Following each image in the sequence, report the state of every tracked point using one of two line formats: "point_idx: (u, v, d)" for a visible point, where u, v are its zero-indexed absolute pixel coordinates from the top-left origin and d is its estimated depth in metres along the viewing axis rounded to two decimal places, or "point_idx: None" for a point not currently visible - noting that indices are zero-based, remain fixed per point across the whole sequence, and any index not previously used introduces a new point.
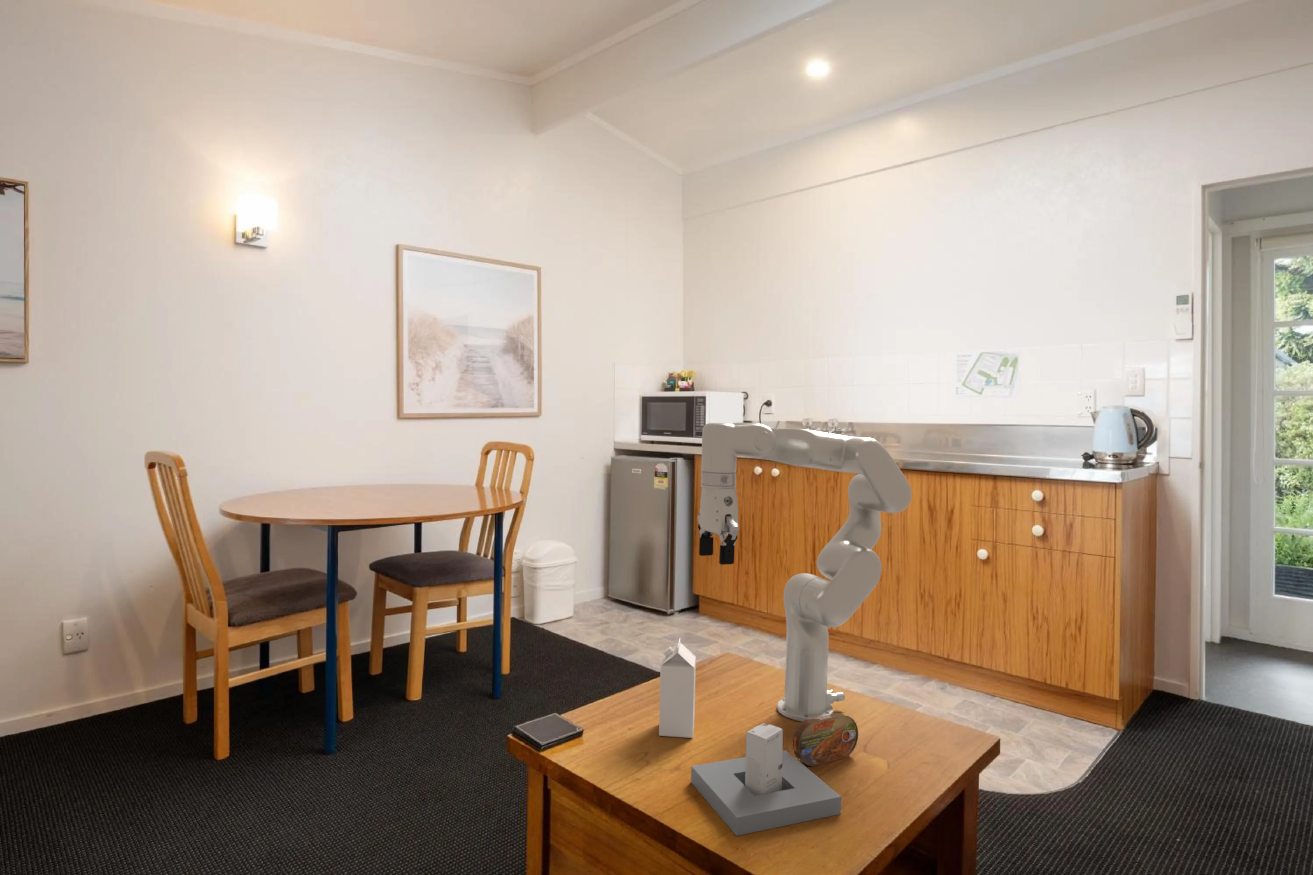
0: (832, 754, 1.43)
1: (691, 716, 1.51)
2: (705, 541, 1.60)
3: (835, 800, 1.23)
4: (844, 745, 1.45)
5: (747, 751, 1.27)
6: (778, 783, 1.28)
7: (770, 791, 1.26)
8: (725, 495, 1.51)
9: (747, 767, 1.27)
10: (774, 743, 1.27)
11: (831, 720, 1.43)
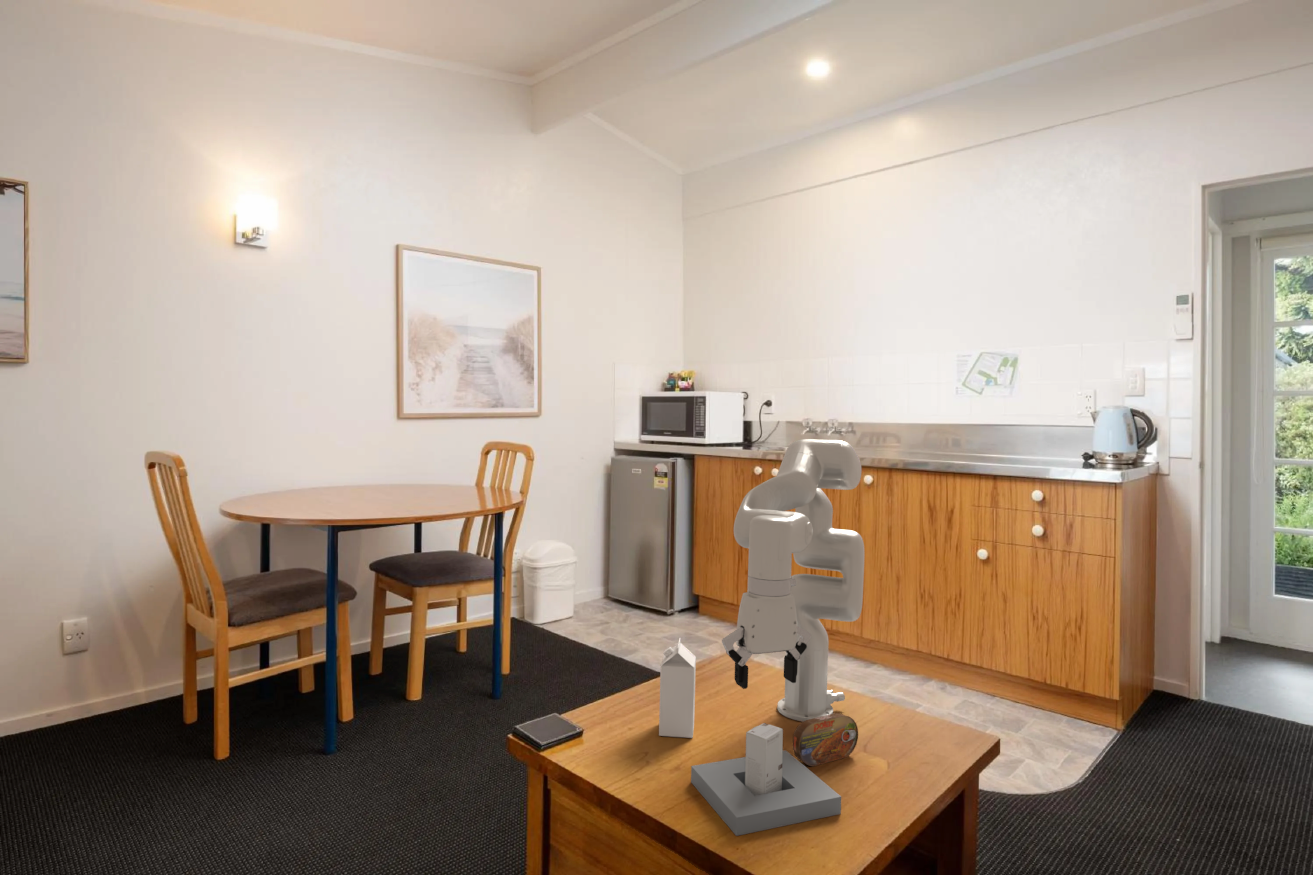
0: (832, 754, 1.43)
1: (691, 716, 1.51)
2: None
3: (835, 800, 1.23)
4: (844, 745, 1.45)
5: (747, 751, 1.27)
6: (778, 783, 1.28)
7: (770, 791, 1.26)
8: None
9: (747, 767, 1.27)
10: (774, 743, 1.27)
11: (831, 720, 1.43)
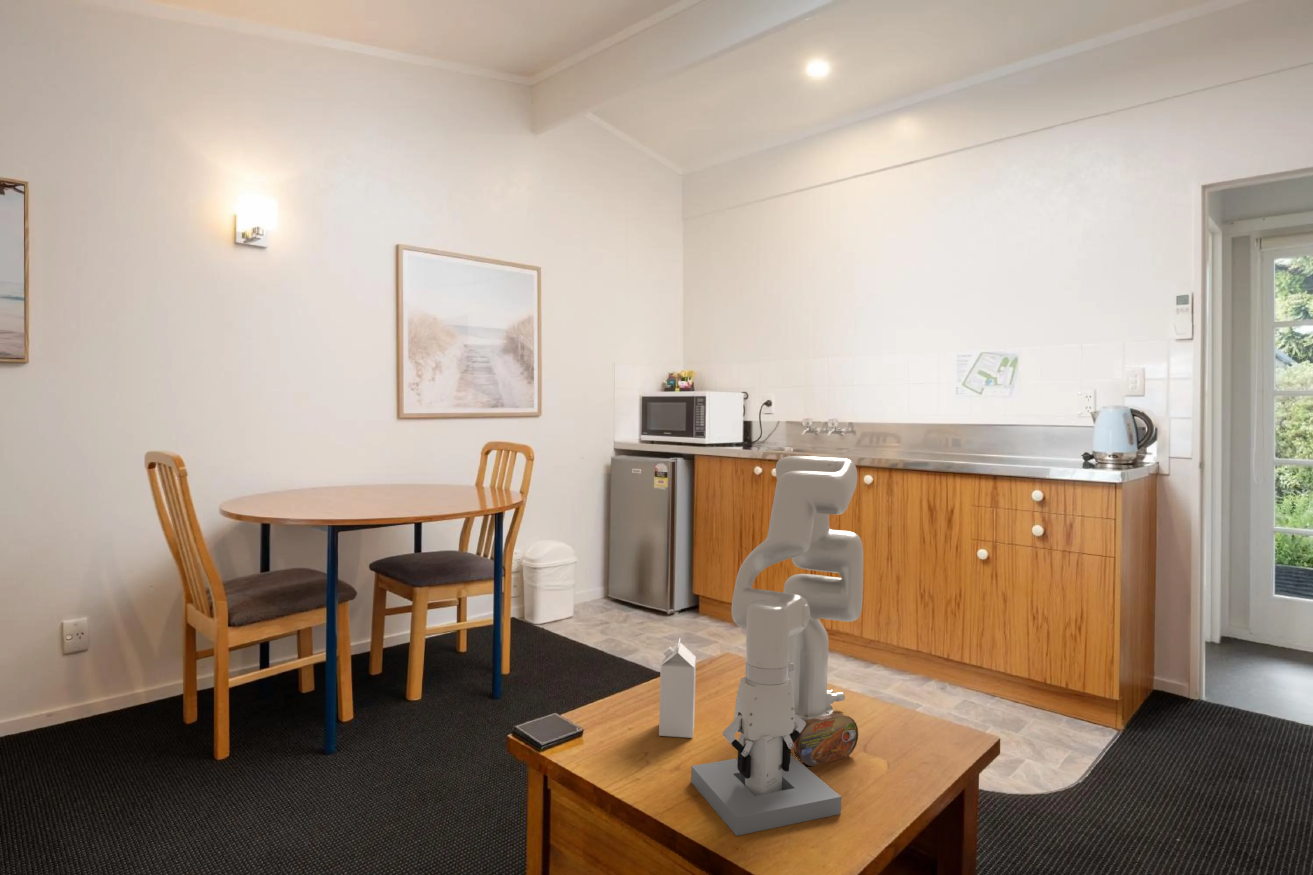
0: (832, 754, 1.43)
1: (691, 716, 1.51)
2: None
3: (835, 800, 1.23)
4: (844, 745, 1.45)
5: None
6: (778, 783, 1.28)
7: (770, 791, 1.26)
8: None
9: None
10: (774, 743, 1.27)
11: (831, 720, 1.43)
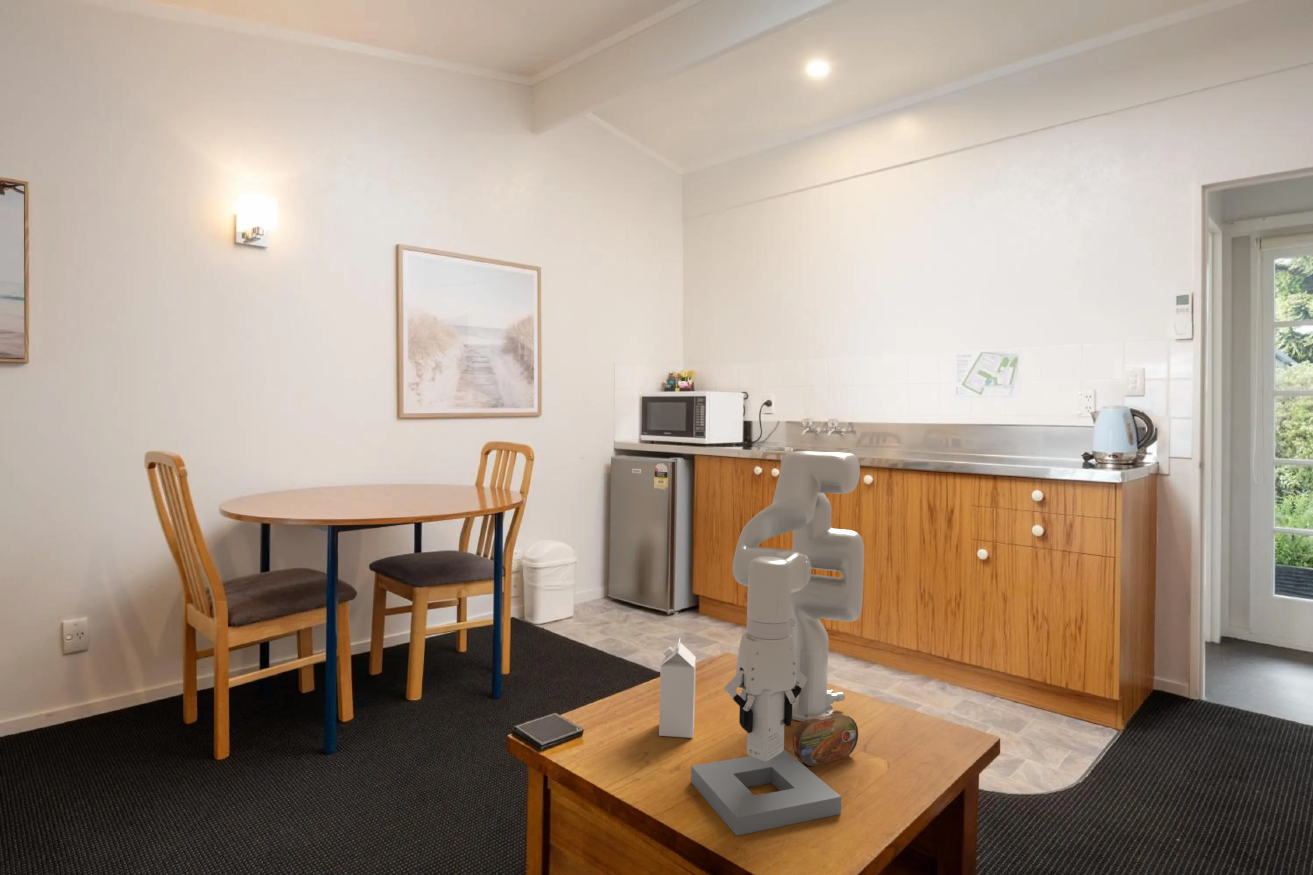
0: (832, 754, 1.43)
1: (691, 716, 1.51)
2: None
3: (835, 800, 1.23)
4: (844, 745, 1.45)
5: None
6: (780, 738, 1.28)
7: (772, 745, 1.26)
8: None
9: None
10: (776, 698, 1.27)
11: (831, 720, 1.43)
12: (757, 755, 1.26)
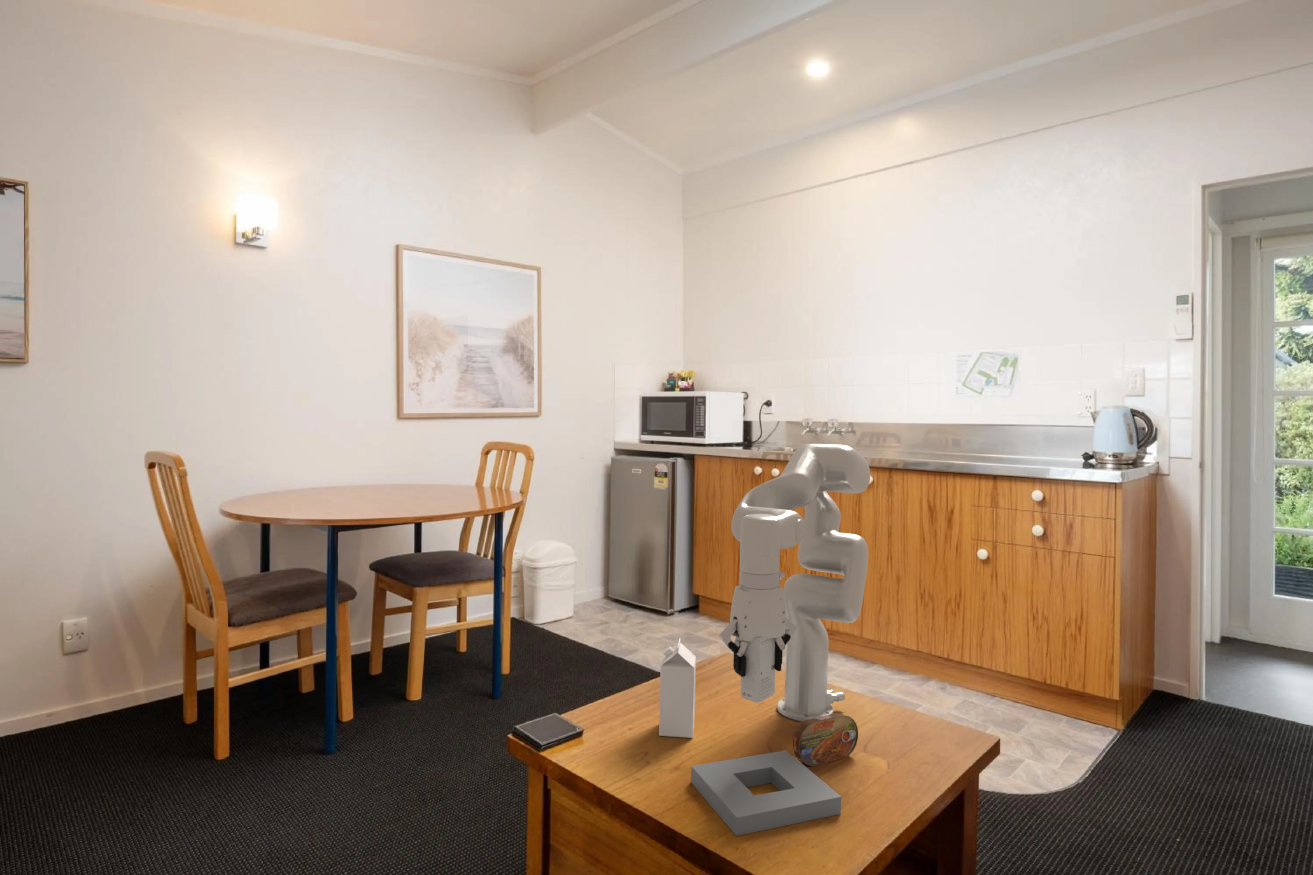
0: (832, 754, 1.43)
1: (691, 716, 1.51)
2: None
3: (835, 800, 1.23)
4: (844, 745, 1.45)
5: None
6: (771, 682, 1.38)
7: (764, 688, 1.36)
8: None
9: None
10: (767, 644, 1.37)
11: (831, 720, 1.43)
12: (750, 697, 1.36)
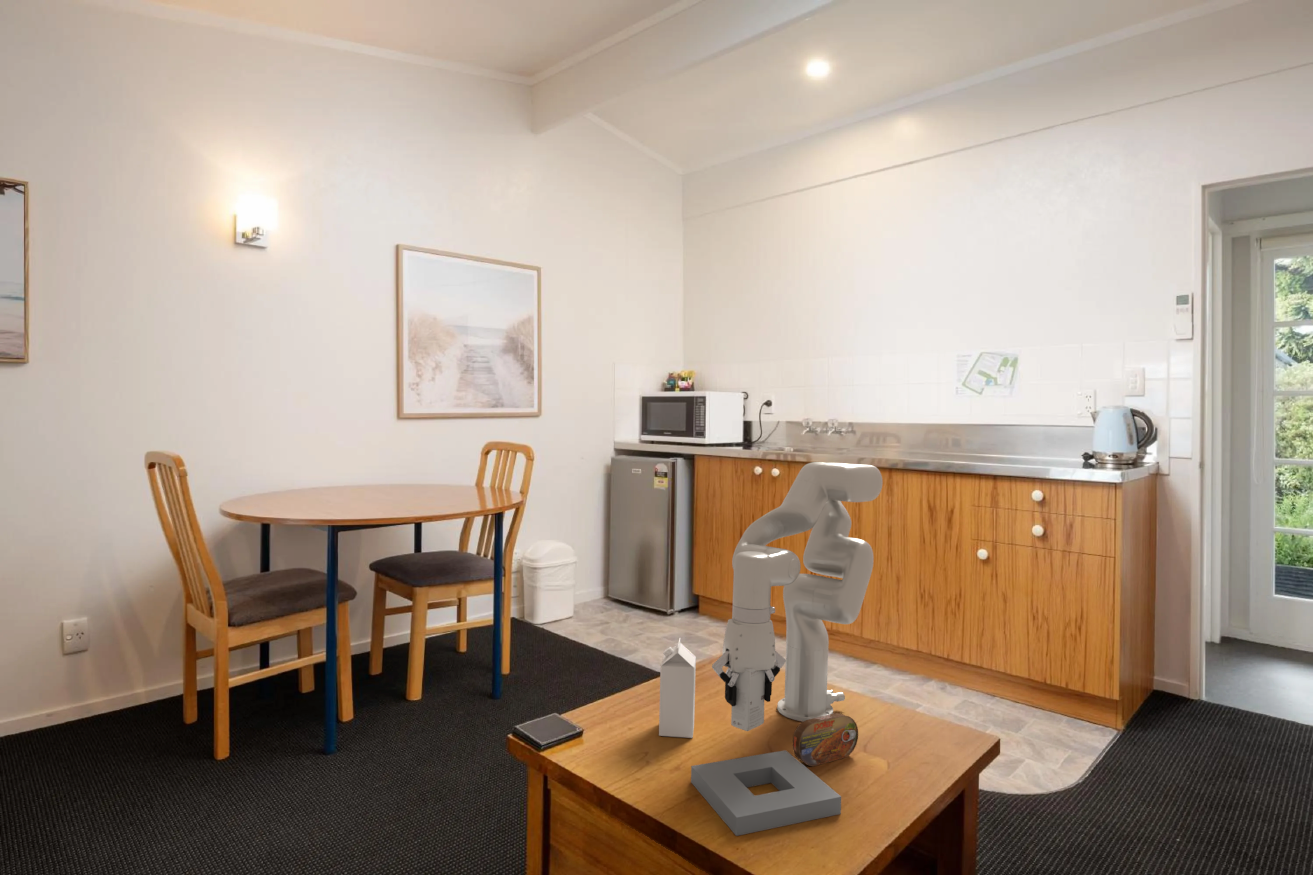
0: (832, 754, 1.43)
1: (691, 716, 1.51)
2: None
3: (835, 800, 1.23)
4: (844, 745, 1.45)
5: None
6: (760, 711, 1.46)
7: (753, 717, 1.44)
8: None
9: None
10: (757, 675, 1.45)
11: (831, 720, 1.43)
12: (740, 726, 1.44)
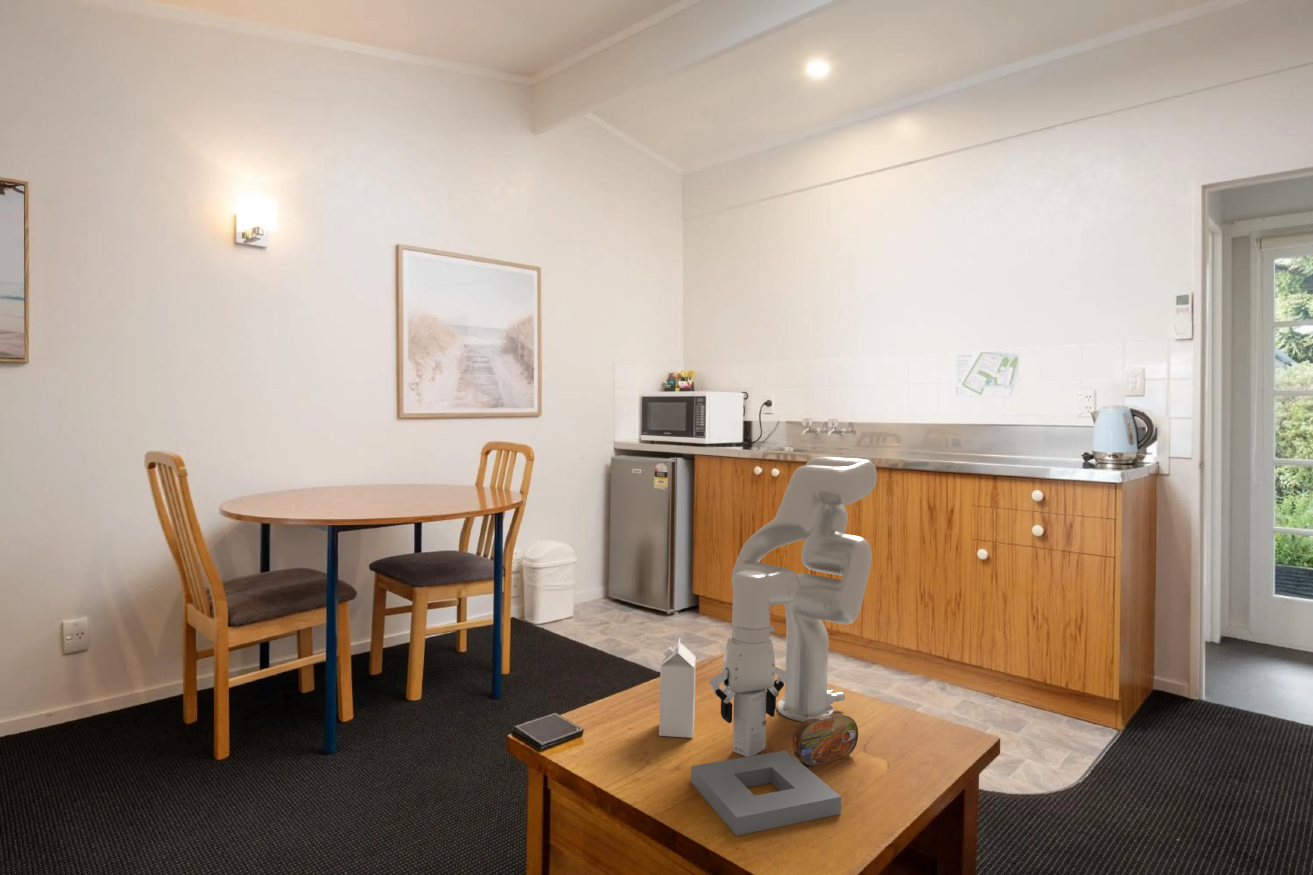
0: (832, 754, 1.43)
1: (691, 716, 1.51)
2: None
3: (835, 800, 1.23)
4: (844, 745, 1.45)
5: (735, 709, 1.45)
6: (762, 737, 1.46)
7: (755, 743, 1.44)
8: None
9: (735, 723, 1.45)
10: (758, 701, 1.45)
11: (831, 720, 1.43)
12: (741, 752, 1.44)
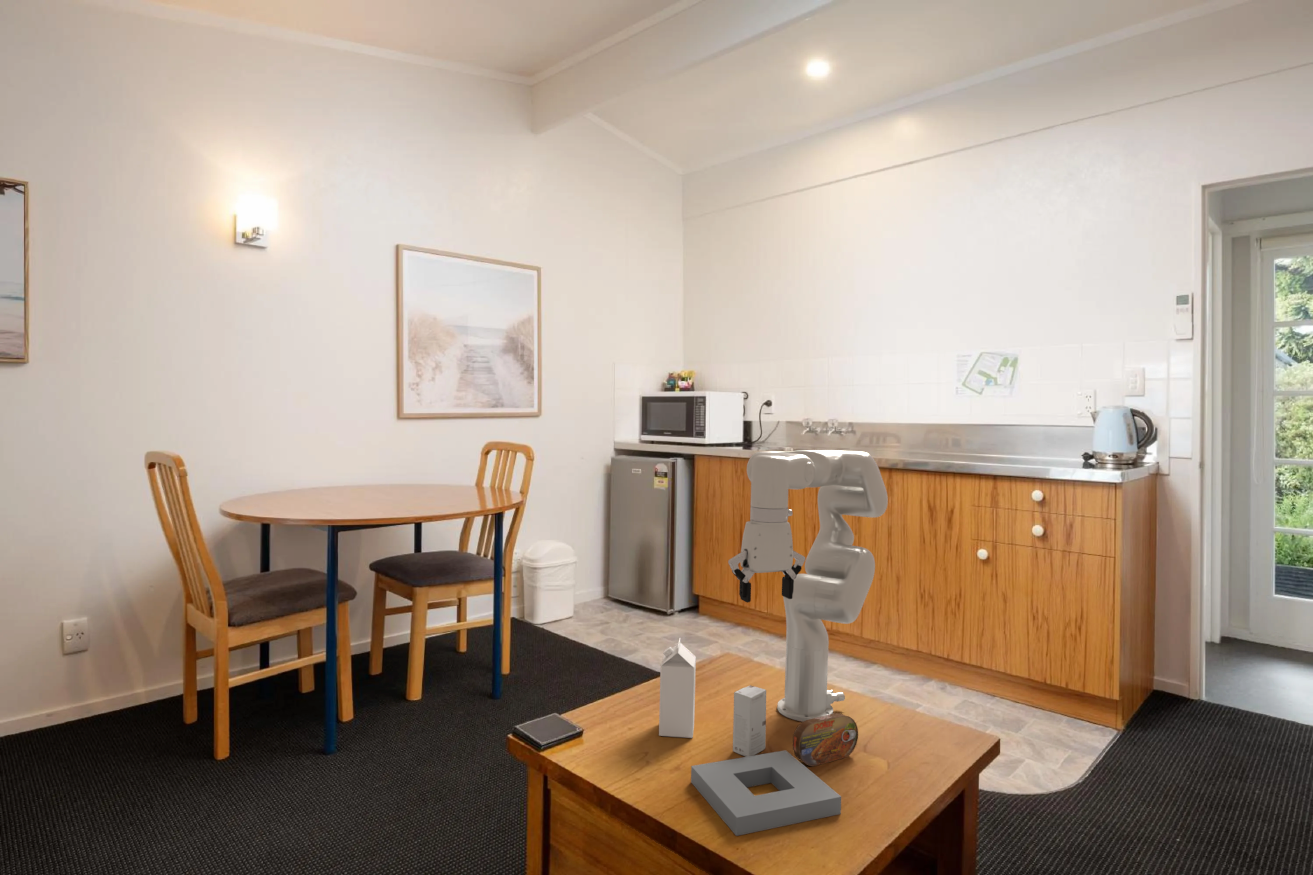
0: (832, 754, 1.43)
1: (691, 716, 1.51)
2: None
3: (835, 800, 1.23)
4: (844, 745, 1.45)
5: (735, 709, 1.45)
6: (762, 737, 1.46)
7: (755, 743, 1.44)
8: None
9: (735, 723, 1.45)
10: (758, 702, 1.45)
11: (831, 720, 1.43)
12: (741, 752, 1.44)
